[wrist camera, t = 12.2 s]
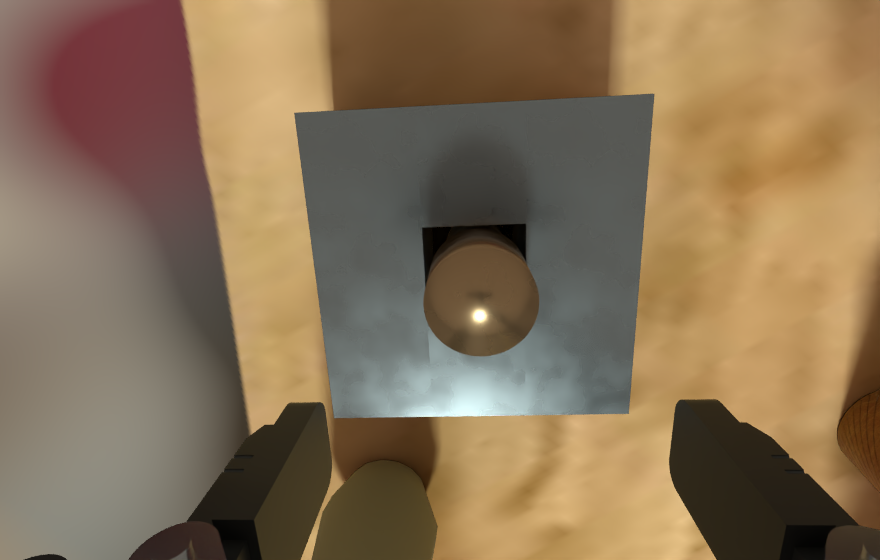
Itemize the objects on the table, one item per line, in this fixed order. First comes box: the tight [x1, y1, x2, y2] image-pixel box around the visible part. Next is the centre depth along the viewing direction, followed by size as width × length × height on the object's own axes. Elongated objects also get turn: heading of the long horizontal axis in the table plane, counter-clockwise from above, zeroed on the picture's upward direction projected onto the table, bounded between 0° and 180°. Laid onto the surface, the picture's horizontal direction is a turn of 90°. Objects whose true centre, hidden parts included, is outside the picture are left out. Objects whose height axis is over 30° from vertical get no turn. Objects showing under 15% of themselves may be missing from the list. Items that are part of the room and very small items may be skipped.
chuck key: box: [423, 225, 539, 356], centre depth 25 cm, size 5×5×11 cm
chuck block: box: [294, 94, 654, 418], centre depth 27 cm, size 16×16×7 cm
